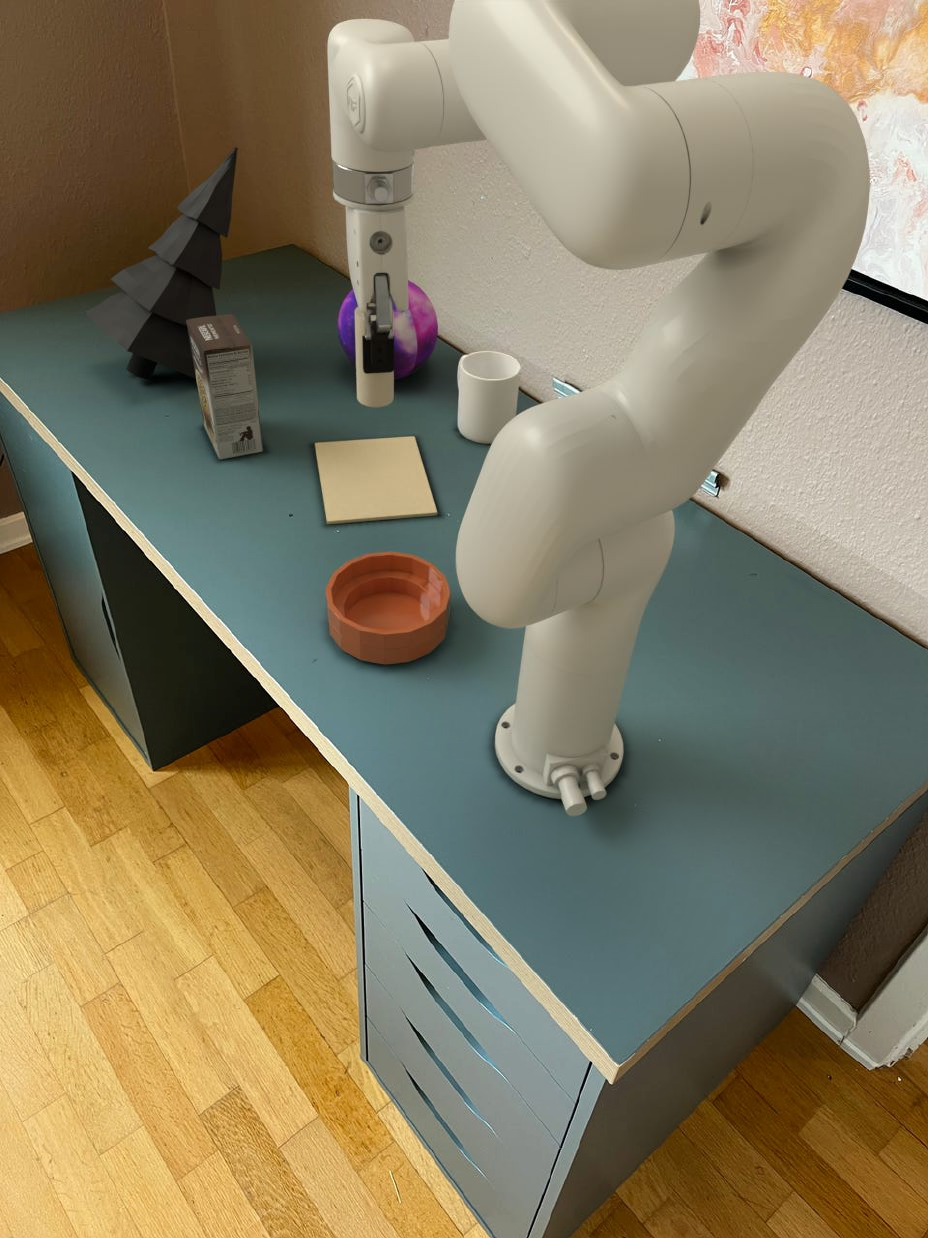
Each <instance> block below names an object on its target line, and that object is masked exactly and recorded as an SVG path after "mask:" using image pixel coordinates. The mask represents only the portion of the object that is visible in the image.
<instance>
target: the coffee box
mask: <svg viewBox="0 0 928 1238" xmlns="http://www.w3.org/2000/svg"><path fill="white" fill-rule="evenodd" d="M186 323H187V328H188V334H189V340H190V345H191V351H192V357H193V363H194V369H195V374H196V378H195V379H196V385H197V391H198V399H199V403H200V409H201V415H202V421H203V427H204V430H205V432H206V434H207V436H208V438H209V440H210V442H211V444H212V447H213V449H214V451H215V454H216V455H217V458H218V459H219V460H225V459H229V458H235V457H240V456H246V455H251V454H258V453H261V452H262V453H263V452H264V447H263V437H262V427H261V419H260V409H259V399H258V398H259V397H258V388H257V379H256V371H255V361H254V352H253V344H252V341H251V340H250V338H249V337H248V336H247V333H246V332H245V331H244V329H243V327H242V326H241V324H240V322H239V321H238V318H237V317H236V316H235V314H234V313H229V314H224V315H216V316H207V317H201V318H194V319H189V320H186Z"/></svg>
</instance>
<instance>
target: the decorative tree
mask: <svg viewBox="0 0 928 1238" xmlns="http://www.w3.org/2000/svg"><path fill="white" fill-rule="evenodd" d="M238 150H239V149H238V147H237V146H234V147H233V148H232V150H231V151H230V152H229V154H228V155H227V157H225V159H224V160H223V162H222V163H221V164H220V165H219V166H218V168H217V169H216V170H214V172H212V174H211V175H210V176H209V177H208V178H207V179H206V180H205V181H204V182H203V183H201V184H200V185H198V186H197V187H196V188H195V189H194V190H193V191H192V192H190V193H189V194H188V195H187V196H186V197H185V198H184V199H183V200H182V201H181V203H180V204H178V206H176V209H177V210H178V211H179V212H181V213H182V214H181V215H180V216H179V217H178V218H177V219H175V221H173V222H172V223H171V225H170V226H169V227H168V228H167V229H166V230H165V232H164V233H163V234H162V235H161V236H160V237H159V238H158V239H157V240H156V241H154V242H153V243H152V244H151V245H149V246H148V247H147V249H148V250H151V251H154V252H155V253H156V254H154V255H153V256H150V257H149V258H146V259H144V260H142V261H140V262H138V263H135V264H133V265H130V266H128V267H126V268H123V269H122V270H120V271H119V272H118V273H117V274H115V275H114V276H113V277H112V278H110V280H111V281H112V282H113V283H115V284H116V285H117V286H118V287H120V288H121V289H122V291H120V292H118V293H115V294H113V295H110V296H109V297H108V298H106V299H105V300H103V301H102V302H100V303H99V304H98V305H96V306H94V307H91V308H90V309H88V310H86V311H85V312H84V313H85V315H86V316H87V317H88V318H90V319H91V320H92V322H94V323H95V325H96V326H97V327H98V328H99V329H100V330H101V331H102V333H103V334H105V335H106V336H108V337H109V338H110V339H112V340H113V341H114V342H117V344H119V345H120V347H122V348H123V349H124V350H125V351H126V352H129V353H130V354H131V356H130V358H129V361H128V364H127V365H126V370H127V371H128V372H129V373H130V374H132V375H134V376H135V377H138V378H140V379H142V380H145V381H151V379H152V376H153V374H154V372H155V370H156V368H157V365H158V364H159V365H161V366H164V367H166V368H169V369H170V370H173V371H176V372H178V373H181V374H183V375H186V376H189V377H191V378H194V379H196V374H195V369H194V363H193V357H192V351H191V345H190V340H189V334H188V328H187V323H186V320H189V319H194V318H201V317H207V316H217V309H216V302H215V297H214V296H215V295H214V291H213V288H214V289H216V290H220V288H221V280H222V270H223V248H222V240H221V236H222V237H224V238H226V239H228V236H229V231H230V226H231V220H232V206H233V191H234V186H235V185H234V184H235V183H234V182H235V176H236V169H237V168H236V167H237V158H238Z"/></svg>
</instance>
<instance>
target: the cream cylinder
mask: <svg viewBox="0 0 928 1238" xmlns="http://www.w3.org/2000/svg"><path fill="white" fill-rule="evenodd" d="M369 306H375V303H369ZM372 321H376V315H371V324H372ZM393 334H394V311H393ZM362 336H365V322H364V313H363V312H362V311H361V310H360V309H359V307H357V308H356V309H355V343H356V366H355V370H356V371H355V375H356V376H355V377H356V379H355V380H356V400H357V401H358V403H360V404H361V405H363V406H365V407H369V408H383V407H387V406H389V405H390V404H392V402H393V401H394V397H395V394H394V393H395V389H394V387H395V379H394V371H393V372H389V373H371V374H366V373H364V371H363V351H362Z"/></svg>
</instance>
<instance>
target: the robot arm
mask: <svg viewBox="0 0 928 1238" xmlns="http://www.w3.org/2000/svg"><path fill="white" fill-rule="evenodd" d="M700 28H701V5H700V0H454V2H453V5H452V9H451V13H450V18H449V26H448V38H444V39H434V40H433V39H432V40H422V41H415V37H414V36H413V33H412V32H411V31H410V30H409V29H408V28H407V27H406V26H404V25H402V24H401V23H397V22H394V21H390V20H385V19H377V18H355V19H348V20H345V21H341V22H339V23H337V24H335V26H333V28H332V29H331V30H330V32H329V34H328V38H327V53H326V54H327V77H328V78H327V79H328V98H329V99H328V101H329V102H328V103H329V125H330V126H329V127H330V129H329V130H330V151H331V153H330V154H331V176H332V177H331V178H332V179H331V180H332V196H333V199H334V200H335V201H336V202H338V203H339V204H341V205H343V206H345V227H346V228H345V232H346V249H347V250H346V251H347V262H348V270H349V271H348V272H349V277H350V282H351V287H352V289H353V290H354V294H355V297H356V300H357V307H359V309H360V310H361V311H362V312H363V313H364V322H365V336H362V351H363V371H364V373H366V374H371V373H389V372H393V371H394V334H393V303H392V299H393V301H394V303H395V306H396V308H397V311H402V312H406V311H407V309H408V307H409V304H408V280H409V269H408V266H409V263H408V235H407V219H406V211H405V209H406V208H405V207H407V206H409V205H410V204H411V203H412V202H413V201H414V199H415V197H414V196H415V195H414V194H415V193H414V191H415V152H416V151H415V150H423V149H428V148H433V147H440V146H447V145H449V146H450V145H455V144H456V145H457V144H464V143H473V142H481V141H487V142H488V143H489V145H490V147H491V148H492V149H493V151H494V152H495V153H496V155H497V157H498V159H500V161H501V162H502V164H503V165H504V167H505V168H506V169H507V171H508V172H509V173H510V175H511V176H512V178H513V179H514V180H515V181H516V183H517V185H518V186H519V188H520V189H521V190H522V192H523V193H524V195H525V196H526V197H527V199H528V200H529V202H530V203H531V205H532V206H533V208H534V209H535V211H536V212H537V214H538V215H539V216H540V218H541V220H543V222H544V223H545V225H546V226H547V228H548V229H549V231H551V233H552V235H554V237H555V238H556V239H557V240H558V241H559V242H560V244H561V245H562V246H563V247H564V248H565V250H567V251H568V252H569V253H571V254H572V255H573V256H574V257H576V258H577V259H578V260H580V261H582V262H584V263H585V264H586V265H589V266H592V267H594V268H600V269H605V270H610V271H623V270H631V269H632V270H633V269H637V268H643V267H646V266H651V265H656V264H661V263H665V262H670V261H674V260H679V259H684V258H688V257H693V256H698V255H703V254H705V255H704V256H703V258H702V259H701V260H700V262H698V264H697V265H696V266H695V267H694V268H693V269H692V270H691V271H690V272H689V273H688V274H687V275H686V276H685V277H684V278H683V279H682V280H681V281H679V283H678V284H676V286H675V287H674V288H673V289H672V290H671V291H670V292H669V293H668V294H667V295H666V296H665V297H664V299H663V300H662V301H661V302H660V303H659V304H658V306H657V307H656V308H655V309H654V311H653V313H652V314H651V316H650V317H649V319H648V320H647V322H646V324H645V325H644V327H643V329H642V332H641V334H640V336H639V338H638V340H637V341H636V345H635V347H634V348H633V350H632V351H631V353H630V355H629V357H628V359H627V360H626V362H625V363H624V365H623V366H622V368H620V370H619V371H618V372H617V373H616V374H615V375H614V376H613V377H612V378H611V379H609V380H607V381H605V382H603V383H601V384H599V385H596V386H594V387H590V388H588V389H585V390H583V391H579V392H576V393H571V394H568V395H566V396H563V397H558V398H554V399H552V400H548V401H545V402H542V403H539V404H537V405H534V406H531V407H529V408H527V409H525V410H523V411H521V412H520V413H518V414H516V417H514V418H513V419H512V420H511V421H509V422H508V423H507V424H506V425H505V426H504V427H503V428H502V429H501V430H500V432H499V433H498V434H497V436H496V437H495V439H494V441H493V443H492V444H490V447H489V449H488V452H487V453H486V456H485V458H484V461H483V464H482V467H481V470H480V472H479V475H478V476H477V477H478V478H477V480H476V483H475V486H474V488H473V491H472V494H471V495H470V499H469V501H468V504H467V507H466V509H465V512H464V514H463V518H462V520H461V524H460V526H459V530H458V534H457V539H456V547H455V571H456V575H457V576H456V577H457V581H458V585H459V587H460V590H461V593H462V595H463V598H464V599H465V601H466V603H467V604H468V605H469V608H470V609H471V610H472V611H473V612H474V613H475V614H476V615H477V616H478V617H479V618H480V619H482V620H483V621H485V622H486V623H488V624H490V625H493V626H495V627H496V628H497V627H498V628H502V629H508V630H509V629H511V630H512V629H521V628H525V631H524V636H523V642H522V643H523V644H522V653H521V659H520V667H519V675H518V683H517V689H516V697H515V702H514V703H513V704H512V705H511V706H509V708H507V709H506V710H505V712H504V713H503V714H502V716H501V717H500V719H499V721H498V722H497V725H496V730H495V736H494V748H495V755H496V757H497V759H498V763H499V765H500V766H501V767H502V769H503V770H504V772H505V773H506V774H507V775H508V776H509V777H510V778H511V779H512V781H514V782H515V783H516V784H518V785H519V786H521V787H522V788H523V789H525V790H528V791H530V792H531V793H533V794H536V795H539V796H542V797H546V798H550V799H557V800H561V801H562V804H563V808H564V811H565V813H566V814H567V816H570V817H577V816H580V815H582V814H584V813H585V812H586V811H587V810H588V807H587V803H586V800H585V797H588V796H591V799H592V800H595V801H598V800H602V799H603V798H605V797H606V795H607V790H606V789H605V788H606V787H607V786H609V784H611V782H613V780H614V779H615V778H616V776H617V774H618V773H619V771H620V768H621V765H622V762H623V758H624V752H625V751H624V741H623V737H622V734H621V731H620V729H619V728H618V726H617V724H616V719H617V715H618V712H619V707H620V703H621V700H622V695H623V691H624V688H625V683H626V680H627V675H628V672H629V668H630V663H631V661H632V656H633V651H634V649H635V645H636V642H637V637H638V633H639V630H640V627H641V623H642V620H643V616H644V614H645V611H646V608H647V606H648V603H649V601H650V600H651V597H652V595H653V593H654V592H655V590H656V588H657V586H658V584H659V582H660V580H661V578H662V576H663V574H664V572H665V570H666V568H667V566H668V562H669V559H670V558H671V554H672V551H673V547H674V541H675V529H676V528H675V526H676V525H675V518H674V517H675V516H674V512H673V510H674V509H677V508H678V507H680V506H681V505H683V504H685V503H686V502H687V501H689V500H690V499H692V497H693V496H694V495H695V494H696V493H697V492H698V490H699V489H700V488H701V487H702V486H703V484H704V483H705V482H706V480H707V479H708V477H709V476H710V475H711V473H712V472H713V471H714V469H715V468H716V466H717V465H718V463H719V462H720V460H721V459H722V458H723V456H724V455H725V453H726V452H727V451H728V449H729V448H730V447H731V445H732V444H733V442H734V441H735V440H736V438H737V436H738V435H739V434H740V433H741V431H742V430H743V428H744V427H745V426H746V425H747V424H748V423H747V422H749V420H750V418H751V417H752V416H753V415H754V413H755V412H756V410H757V409H758V407H759V405H760V404H761V402H762V400H763V399H764V398H765V396H766V394H767V393H768V392H769V390H770V389H771V387H772V386H773V385H774V383H775V382H776V381H777V379H778V377H779V376H781V374H782V373H783V372H784V370H785V369H786V367H787V366H788V365H789V364H790V362H791V361H792V360H793V359H794V358H795V356H796V355H797V353H798V352H799V351H800V350H801V349H802V347H803V346H804V345H805V344H806V342H807V341H808V339H809V338H810V337H811V336H812V334H813V333H814V332H815V330H817V327H818V326H819V325H820V323H821V322H822V321H823V319H824V317H825V316H826V314H827V313H828V311H829V310H830V309H831V307H832V305H833V304H834V302H835V301H836V299H837V297H838V296H839V294H840V293H841V290H842V288H843V287H844V285H845V283H846V281H847V280H848V277H849V275H850V273H851V271H852V269H853V266H854V264H855V261H856V259H857V257H858V253H859V251H860V248H861V245H862V243H863V238H864V235H865V230H866V226H867V221H868V214H869V205H870V192H871V175H870V173H871V172H870V171H871V170H870V163H869V161H870V160H869V154H868V148H867V144H866V143H867V142H866V139H865V137H864V133H863V131H862V130H863V129H862V128H861V125H860V123H859V120H858V117H857V116H856V114H855V112H854V110H853V109H852V107H851V105H850V104H849V103H848V101H846V99H845V98H844V97H843V96H842V95H841V94H840V93H839V92H838V91H837V90H835V88H833V87H831V86H829V85H827V84H826V83H825V82H822V81H820V80H818V79H816V78H812V77H809V76H806V75H803V74H799V73H793V72H784V71H749V72H735V73H727V74H719V75H718V74H717V75H710V76H704V77H696V78H690V79H680V80H678V78H679V77H680V76H681V75H683V74H682V73H683V72H684V70H685V69H686V67H687V66H688V64H689V63H690V62H691V58H692V56H693V53H694V51H695V49H696V45H697V42H698V38H699V33H700ZM369 303H375V306H369ZM371 315H376V321H372V324H371Z"/></svg>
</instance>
